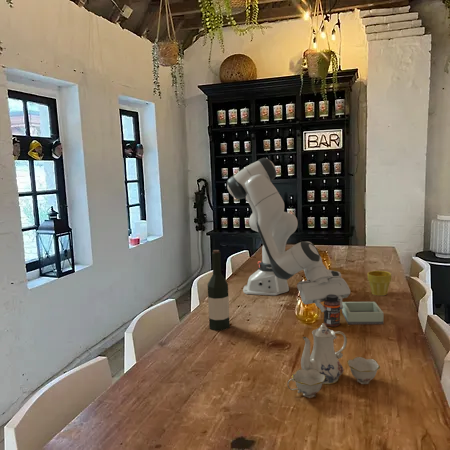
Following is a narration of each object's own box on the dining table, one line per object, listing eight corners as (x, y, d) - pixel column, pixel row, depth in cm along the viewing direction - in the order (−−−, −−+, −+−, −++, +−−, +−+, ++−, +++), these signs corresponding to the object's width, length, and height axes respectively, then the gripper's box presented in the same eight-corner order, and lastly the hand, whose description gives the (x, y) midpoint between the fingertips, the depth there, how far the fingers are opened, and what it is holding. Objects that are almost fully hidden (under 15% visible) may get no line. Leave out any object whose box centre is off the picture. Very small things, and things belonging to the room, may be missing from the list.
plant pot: (366, 296, 194) (367, 275, 193) (367, 289, 204) (367, 270, 202) (391, 298, 191) (391, 276, 189) (390, 291, 200) (391, 271, 199)
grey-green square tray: (348, 324, 162) (348, 312, 161) (342, 312, 175) (342, 302, 174) (383, 324, 161) (383, 312, 160) (374, 312, 173) (374, 301, 173)
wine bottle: (233, 323, 167) (230, 248, 163) (226, 331, 160) (222, 253, 155) (213, 321, 170) (209, 248, 166) (205, 329, 162) (201, 252, 158)
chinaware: (304, 415, 108) (307, 355, 104) (270, 380, 122) (272, 327, 119) (387, 387, 119) (393, 333, 115) (347, 358, 134) (351, 309, 130)
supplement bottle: (331, 328, 158) (331, 299, 157) (320, 323, 164) (320, 295, 162) (343, 325, 161) (343, 296, 160) (332, 320, 166) (332, 292, 165)
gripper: (298, 277, 163) (311, 310, 155) (343, 271, 170) (358, 302, 162) (292, 286, 168) (305, 318, 160) (337, 279, 175) (351, 309, 167)
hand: (332, 310), depth 161 cm, fingers closed on supplement bottle, 6 cm apart
